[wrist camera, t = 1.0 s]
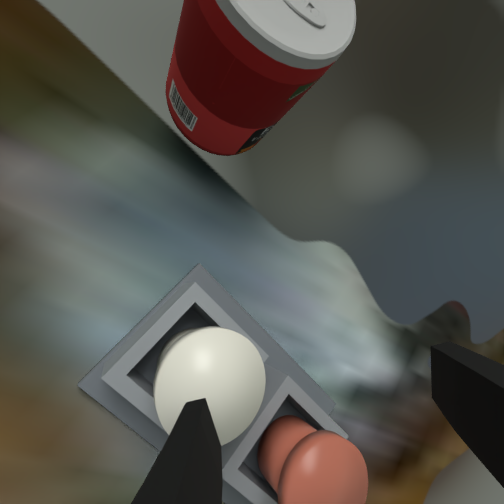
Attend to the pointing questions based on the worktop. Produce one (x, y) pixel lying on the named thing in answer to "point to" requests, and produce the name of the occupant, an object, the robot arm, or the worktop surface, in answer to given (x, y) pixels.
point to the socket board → (144, 368)
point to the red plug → (311, 464)
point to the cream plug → (210, 378)
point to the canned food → (249, 65)
